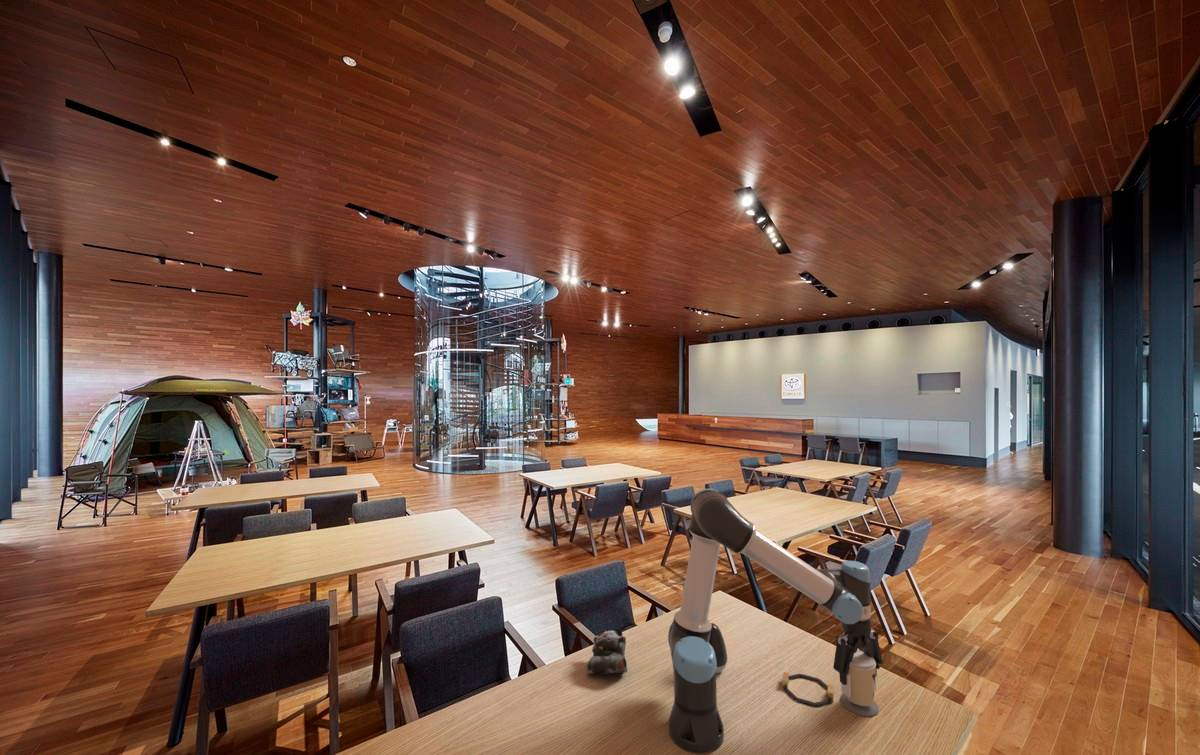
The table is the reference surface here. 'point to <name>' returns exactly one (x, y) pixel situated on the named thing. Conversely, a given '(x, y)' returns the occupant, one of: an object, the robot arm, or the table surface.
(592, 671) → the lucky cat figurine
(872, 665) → the coffee cup
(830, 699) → the socket ring
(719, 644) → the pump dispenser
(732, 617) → the table surface
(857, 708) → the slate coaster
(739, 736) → the table surface
